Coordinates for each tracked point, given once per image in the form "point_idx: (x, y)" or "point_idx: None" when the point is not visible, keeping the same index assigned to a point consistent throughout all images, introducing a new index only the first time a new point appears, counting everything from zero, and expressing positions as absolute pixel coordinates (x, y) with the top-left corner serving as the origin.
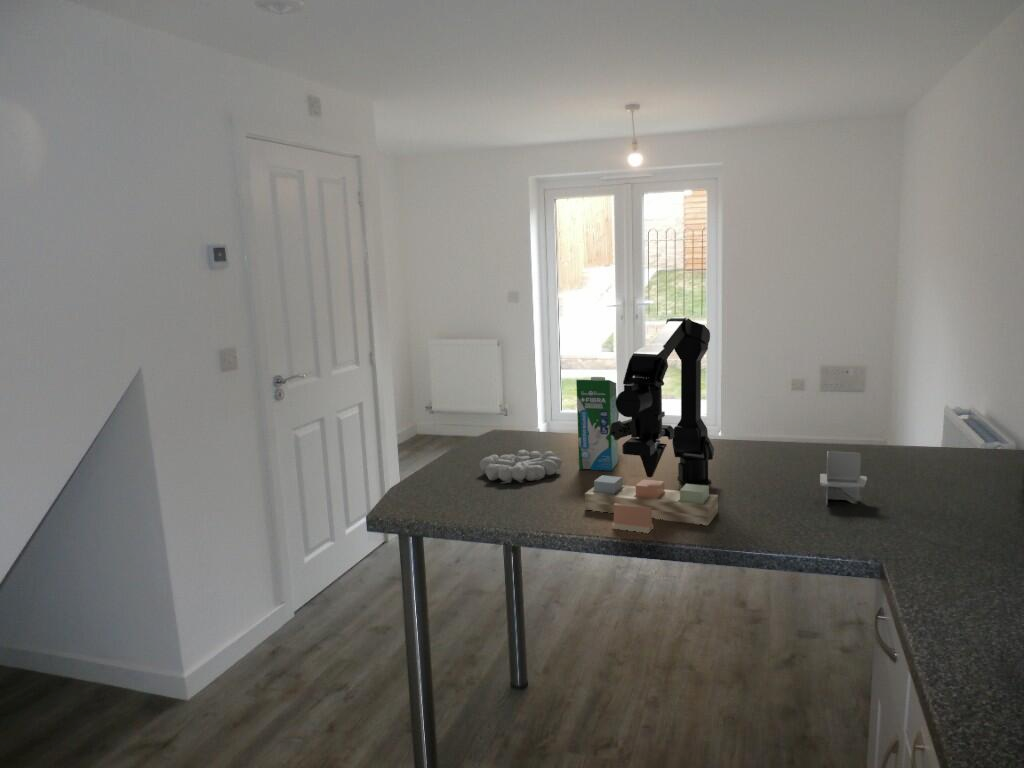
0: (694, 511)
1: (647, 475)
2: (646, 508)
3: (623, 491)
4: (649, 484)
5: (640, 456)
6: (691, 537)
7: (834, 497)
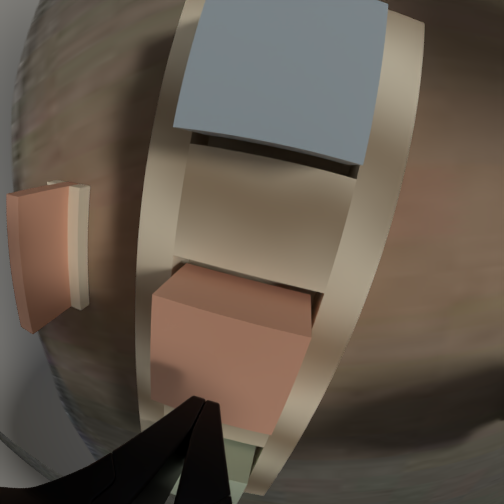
0: None
1: (184, 404)
2: (20, 317)
3: (261, 181)
4: (194, 373)
5: (39, 486)
6: (83, 380)
7: None
